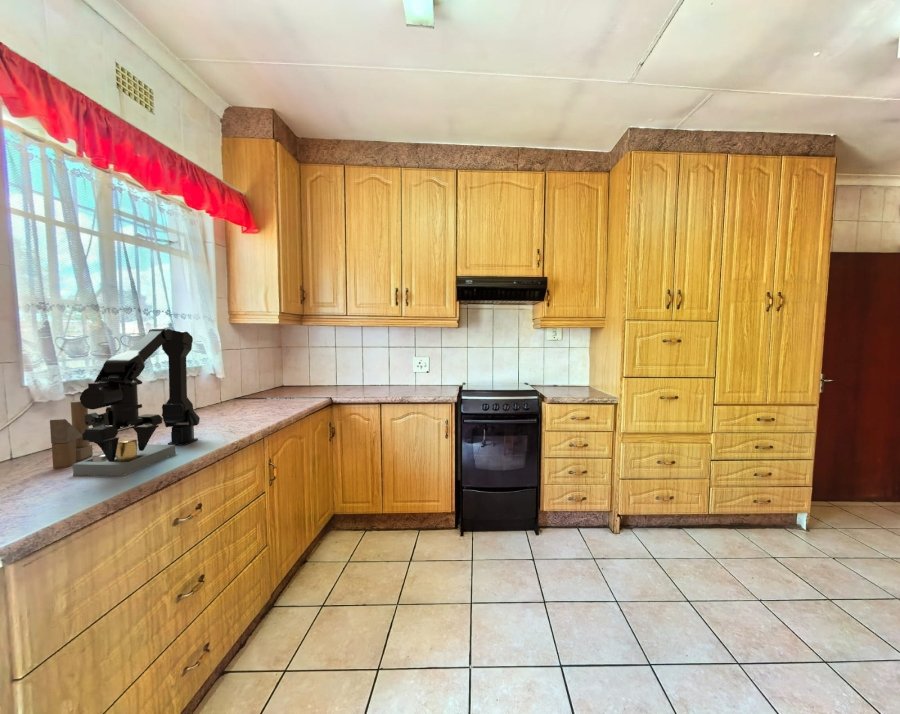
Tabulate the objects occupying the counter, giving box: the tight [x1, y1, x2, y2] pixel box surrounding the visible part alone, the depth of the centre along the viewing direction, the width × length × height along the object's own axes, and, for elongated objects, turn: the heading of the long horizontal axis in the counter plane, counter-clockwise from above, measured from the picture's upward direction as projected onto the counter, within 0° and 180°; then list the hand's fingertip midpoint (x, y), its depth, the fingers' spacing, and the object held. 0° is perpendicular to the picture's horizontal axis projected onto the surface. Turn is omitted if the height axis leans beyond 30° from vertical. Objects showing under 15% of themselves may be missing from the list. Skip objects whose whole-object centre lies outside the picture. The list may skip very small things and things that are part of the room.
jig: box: [72, 443, 177, 477], centre depth 106 cm, size 18×14×3 cm
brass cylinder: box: [116, 438, 138, 462], centre depth 101 cm, size 4×4×8 cm
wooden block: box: [49, 399, 94, 469], centre depth 107 cm, size 4×11×18 cm, turn 17°
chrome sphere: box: [92, 453, 108, 462], centre depth 102 cm, size 4×4×4 cm
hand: (127, 455), depth 101 cm, fingers open, 9 cm apart
